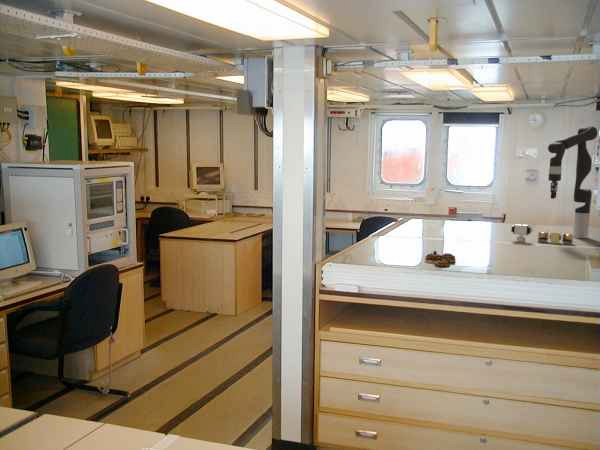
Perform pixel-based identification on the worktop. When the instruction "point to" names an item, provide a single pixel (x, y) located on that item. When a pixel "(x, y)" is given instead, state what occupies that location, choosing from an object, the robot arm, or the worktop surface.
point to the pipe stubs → (566, 238)
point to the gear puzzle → (440, 259)
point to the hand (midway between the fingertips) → (553, 198)
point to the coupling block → (555, 237)
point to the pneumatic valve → (521, 231)
